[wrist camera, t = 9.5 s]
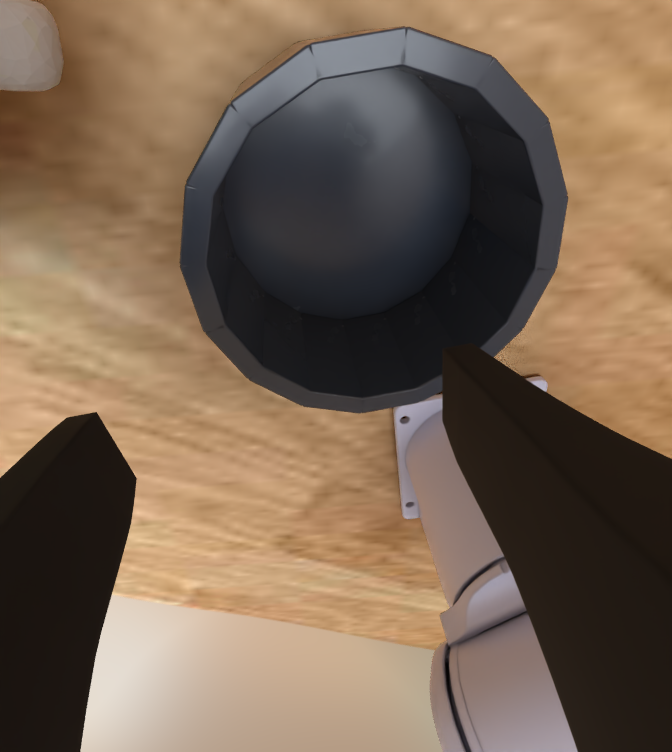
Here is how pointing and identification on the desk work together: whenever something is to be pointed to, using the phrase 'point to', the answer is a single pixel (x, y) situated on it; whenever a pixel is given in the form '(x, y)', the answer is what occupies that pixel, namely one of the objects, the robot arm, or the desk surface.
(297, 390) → the tin
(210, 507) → the desk surface
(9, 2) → the teacup
